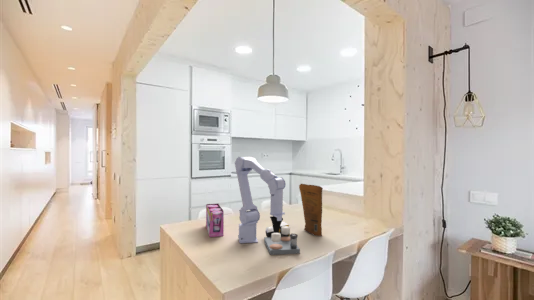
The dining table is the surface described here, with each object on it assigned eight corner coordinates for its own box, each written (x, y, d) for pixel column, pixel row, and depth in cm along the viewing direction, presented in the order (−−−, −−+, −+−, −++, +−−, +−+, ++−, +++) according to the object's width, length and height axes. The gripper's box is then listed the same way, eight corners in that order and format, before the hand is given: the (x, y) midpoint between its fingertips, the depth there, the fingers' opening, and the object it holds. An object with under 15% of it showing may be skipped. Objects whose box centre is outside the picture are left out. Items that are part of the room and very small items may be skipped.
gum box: (224, 236, 143) (224, 212, 143) (209, 238, 140) (209, 212, 140) (218, 224, 166) (218, 203, 166) (205, 225, 163) (205, 203, 163)
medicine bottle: (290, 237, 141) (269, 242, 137) (285, 233, 147) (265, 237, 144) (289, 224, 140) (268, 228, 137) (284, 221, 147) (264, 225, 143)
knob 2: (282, 234, 132) (282, 228, 132) (280, 232, 136) (280, 226, 136) (290, 234, 133) (290, 228, 133) (288, 231, 137) (288, 226, 137)
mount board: (270, 254, 119) (270, 249, 119) (264, 241, 137) (264, 236, 137) (299, 253, 121) (299, 248, 121) (290, 240, 139) (290, 235, 139)
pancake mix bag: (317, 238, 142) (317, 186, 142) (297, 228, 159) (298, 182, 159) (326, 236, 145) (327, 186, 145) (306, 227, 162) (307, 182, 162)
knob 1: (272, 242, 121) (272, 235, 121) (270, 239, 125) (270, 232, 125) (281, 241, 122) (281, 235, 122) (279, 238, 126) (279, 232, 126)
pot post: (290, 249, 121) (290, 236, 121) (288, 246, 124) (289, 233, 124) (298, 248, 121) (298, 235, 121) (296, 246, 125) (296, 233, 125)
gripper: (288, 206, 117) (288, 236, 117) (281, 200, 131) (281, 227, 131) (273, 206, 116) (272, 237, 116) (267, 200, 130) (267, 227, 130)
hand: (276, 232), depth 124 cm, fingers closed
